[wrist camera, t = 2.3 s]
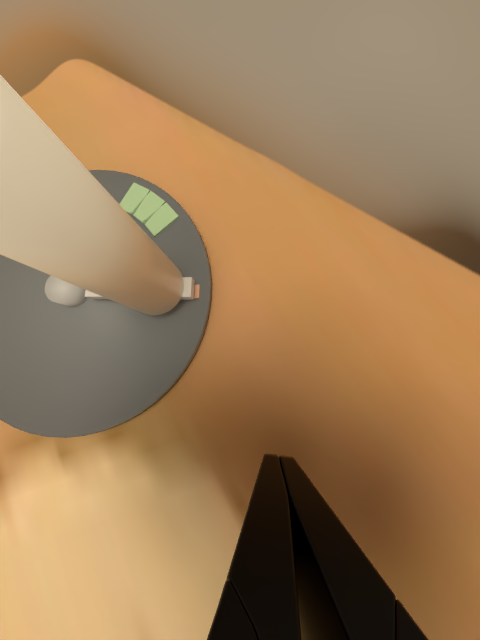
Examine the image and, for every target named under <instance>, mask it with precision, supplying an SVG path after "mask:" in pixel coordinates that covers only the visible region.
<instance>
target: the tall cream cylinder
mask: <svg viewBox="0 0 480 640" xmlns="http://www.w3.org/2000/svg"><path fill="white" fill-rule="evenodd" d="M0 255H3V256H5V257H8V258H10V259H12V260H15V261H17V262H20V263H22V264H25V265H27V266H29V267H32V268H34V269H37V270H39V271H42V272H44V273H46V274H49V275H51V276H54V277H56V278H59V279H61V280H63V281H66V282H68V283H71V284H73V285H76V286H78V287H80V288H83V289H85V297H87V298H90V299H110V300H112V301H114V302H117V303H119V304H122V305H124V306H127V307H129V308H131V309H134V310H136V311H139V312H141V313H144V314H147V315H161V314H164V313H166V312H168V311H170V310H171V309H173V308H174V307H175V306H176V305H177V304H178V302H179V301H180V300H193V299H194V283H195V280H194V279H193V278H192V277H183V276H182V274H181V272H180V270H179V269H178V268H177V267H176V266H175V264H174V263H173V262H172V261H171V260H170V259H169V258H168V257H167V256H166V255H165V254H164V252H163V251H162V250H161V249H160V248H159V247H158V246H157V245H156V244H155V243H154V242H153V240H152V239H151V238H150V237H149V236H148V235H147V234H146V233H145V232H144V231H143V230H142V229H141V227H140V226H139V225H138V224H137V223H136V222H135V221H134V220H133V219H132V218H131V217H130V215H129V214H128V213H127V212H126V211H125V210H124V209H123V208H122V207H121V206H120V205H119V203H118V202H117V201H116V200H115V199H114V198H113V197H112V196H111V195H110V194H109V193H108V191H107V190H106V189H105V188H104V187H103V186H102V185H101V184H100V183H99V182H98V181H97V180H96V178H95V177H94V176H93V175H92V174H91V173H90V172H89V171H88V170H87V169H86V168H85V166H84V165H83V164H82V163H81V162H80V161H79V160H78V159H77V158H76V157H75V156H74V154H73V153H72V152H71V151H70V150H69V149H68V148H67V147H66V146H65V145H64V144H63V142H62V141H61V140H60V139H59V138H58V137H57V136H56V135H55V134H54V133H53V132H52V131H51V129H50V128H49V127H48V126H47V125H46V124H45V123H44V122H43V121H42V120H41V119H40V117H39V116H38V115H37V114H36V113H35V112H34V111H33V110H32V109H31V108H30V107H29V105H28V104H27V103H26V102H25V101H24V100H23V99H22V98H21V97H20V96H19V95H18V93H17V92H16V91H15V90H14V89H13V88H12V87H11V86H10V85H9V84H8V83H7V81H6V80H5V79H4V78H3V77H2V76H1V75H0Z"/></svg>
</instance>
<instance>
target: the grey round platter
mask: <svg viewBox="0 0 480 640" xmlns="http://www.w3.org/2000/svg"><path fill="white" fill-rule="evenodd" d="M89 172H90V173H91V174H92V175H93V176H94V177H95V178H96V180H97V181H98V182H99V183H100V184H101V185H102V186H103V187H104V188H105V189H106V190H107V191H108V193H109V194H110V195H111V196H112V197H113V198H114V199H115V200H116V201H117V202H118V203H119V205H120V206H121V207H122V208H123V209H124V210H125V211H126V212H127V213H128V214H129V215H130V217H131V218H132V219H133V220H134V221H135V222H136V223H137V224H138V225H139V226H140V227H141V229H142V230H143V231H144V232H145V233H146V234H147V235H148V236H149V237H150V238H151V239H152V240H153V242H154V243H155V244H156V245H157V246H158V247H159V248H160V249H161V250H162V251H163V252H164V254H165V255H166V256H167V257H168V258H169V259H170V260H171V261H172V262H173V263H174V264H175V266H176V267H177V268H178V269H179V270H180V272H181V274H182V276H183V277H192V278H193V279H194V280H195V283H194V299H193V300H180V301H179V302H178V304H177V305H176V306H175V307H174V308H173V309H171V310H170V311H168V312H166V313H164V314H161V315H147V314H144V313H141V312H139V311H136V310H134V309H131V308H129V307H127V306H124V305H122V304H119V303H117V302H114V301H112V300H110V299H90V298H87V297H85V289H83V288H80V287H78V286H76V285H73V284H71V283H68V282H66V281H63V280H61V279H59V278H56V277H54V276H51V275H49V274H46V273H44V272H42V271H39V270H37V269H34V268H32V267H29V266H27V265H25V264H22V263H20V262H17V261H15V260H12V259H10V258H8V257H5V256H3V255H0V420H2V421H4V422H5V423H7V424H9V425H11V426H13V427H14V428H17V429H20V430H23V431H25V432H28V433H31V434H36V435H41V436H46V437H64V438H67V437H76V436H85V435H89V434H93V433H97V432H100V431H104V430H106V429H109V428H111V427H114V426H116V425H119V424H121V423H123V422H126V421H128V420H130V419H132V418H133V417H135V416H137V415H139V414H140V413H142V412H144V411H145V410H146V409H148V408H149V407H150V406H152V405H153V404H154V403H156V402H157V401H158V400H160V399H161V398H162V397H163V396H164V395H165V394H166V393H167V392H168V391H169V390H170V389H171V388H172V387H173V386H174V385H175V383H176V382H177V381H178V379H179V378H180V377H181V376H182V374H183V373H184V372H185V370H186V369H187V367H188V366H189V364H190V362H191V361H192V359H193V357H194V356H195V354H196V352H197V349H198V347H199V345H200V343H201V340H202V338H203V335H204V332H205V329H206V325H207V322H208V318H209V312H210V306H211V295H212V280H211V271H210V264H209V260H208V256H207V252H206V249H205V246H204V244H203V242H202V239H201V237H200V234H199V232H198V230H197V229H196V227H195V225H194V224H193V222H192V220H191V219H190V217H189V215H188V214H187V213H186V212H185V210H184V209H183V208H182V207H181V205H180V204H179V203H178V202H177V201H176V200H174V199H173V198H172V197H171V196H170V195H169V194H168V193H166V192H165V191H164V190H162V189H161V188H159V187H158V186H156V185H155V184H152V183H150V182H148V181H146V180H144V179H142V178H140V177H136V176H133V175H130V174H127V173H122V172H116V171H107V170H91V171H89Z"/></svg>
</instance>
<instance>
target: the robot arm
mask: <svg viewBox="0 0 480 640" xmlns="http://www.w3.org/2000/svg"><path fill="white" fill-rule="evenodd" d="M207 640H428V639H427V637H426V636H425V635H424V633H423V632H422V631H421V629H420V628H419V627H418V625H417V624H416V623H415V621H414V620H413V619H412V617H411V616H410V615H409V613H408V612H407V611H406V609H405V608H404V606H403V605H402V604H401V602H400V601H399V600H396V597H395V595H394V593H393V592H392V590H391V589H390V588H389V586H388V585H387V584H386V582H385V581H384V580H383V578H382V577H381V576H380V574H379V573H378V572H377V570H376V569H375V567H374V566H373V565H372V563H371V562H370V561H369V559H368V558H367V557H366V555H365V554H364V553H363V551H362V550H361V548H360V547H359V546H358V544H357V543H356V542H355V540H354V539H353V538H352V536H351V535H350V534H349V532H348V531H347V530H346V528H345V527H344V525H343V524H342V523H341V521H340V520H339V519H338V517H337V516H336V515H335V513H334V512H333V511H332V509H331V508H330V507H329V505H328V504H327V502H326V501H325V500H324V498H323V497H322V496H321V494H320V493H319V492H318V490H317V489H316V488H315V486H314V485H313V483H312V482H311V481H310V479H309V478H308V477H307V475H306V474H305V473H304V471H303V470H302V469H301V467H300V466H299V465H298V463H297V462H296V460H295V459H294V458H293V457H289V456H279V457H278V456H277V455H273V454H264V456H263V460H262V463H261V466H260V470H259V473H258V476H257V479H256V483H255V486H254V489H253V493H252V496H251V499H250V503H249V506H248V509H247V513H246V516H245V519H244V523H243V526H242V529H241V532H240V536H239V539H238V542H237V546H236V549H235V552H234V556H233V559H232V562H231V566H230V569H229V572H228V576H227V580H226V582H225V585H224V588H223V591H222V595H221V598H220V601H219V605H218V608H217V611H216V614H215V617H214V620H213V623H212V626H211V629H210V632H209V635H208V638H207Z"/></svg>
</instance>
